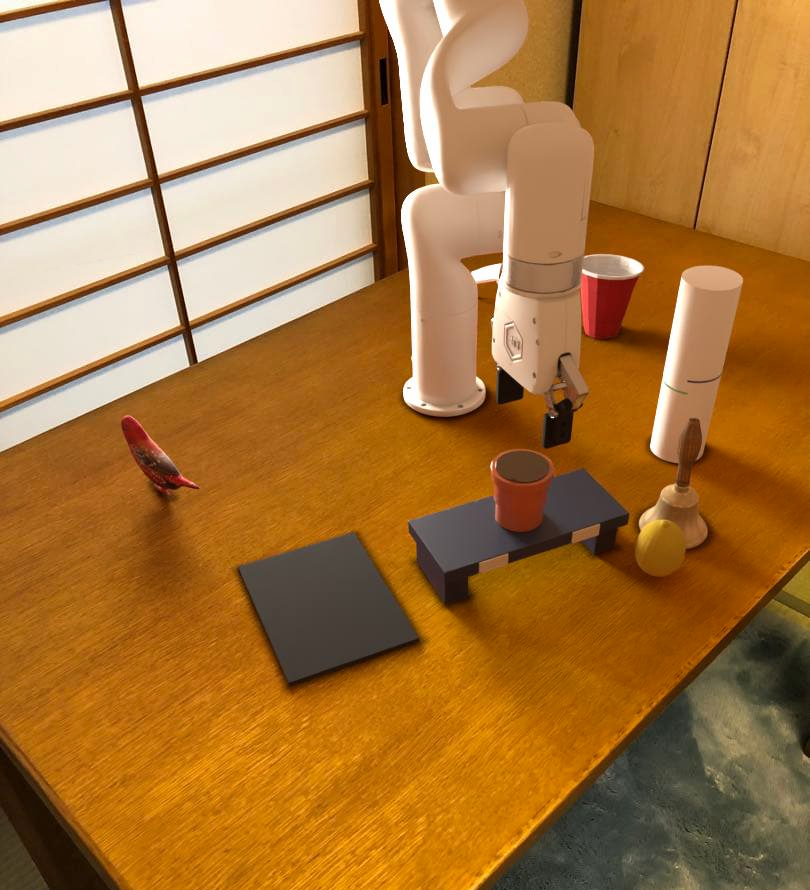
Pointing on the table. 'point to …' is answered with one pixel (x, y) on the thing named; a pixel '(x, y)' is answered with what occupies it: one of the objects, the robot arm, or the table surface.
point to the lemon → (660, 548)
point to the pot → (520, 488)
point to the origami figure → (488, 274)
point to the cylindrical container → (695, 354)
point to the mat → (325, 608)
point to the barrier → (513, 533)
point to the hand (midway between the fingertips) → (531, 421)
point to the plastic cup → (607, 292)
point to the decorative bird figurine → (152, 458)
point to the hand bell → (682, 491)
